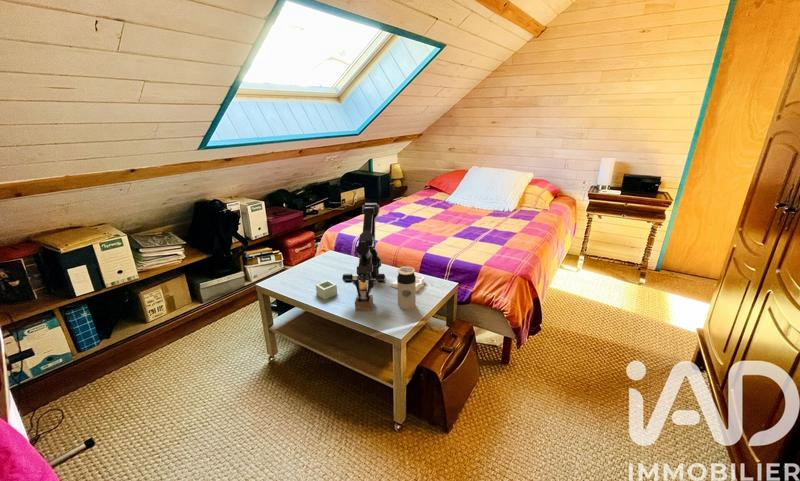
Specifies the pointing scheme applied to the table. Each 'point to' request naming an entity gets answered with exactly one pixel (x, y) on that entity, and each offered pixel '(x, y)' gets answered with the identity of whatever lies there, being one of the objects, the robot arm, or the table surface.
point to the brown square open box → (364, 304)
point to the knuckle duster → (418, 282)
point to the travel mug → (406, 288)
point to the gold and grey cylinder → (363, 291)
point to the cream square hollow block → (326, 289)
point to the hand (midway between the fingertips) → (363, 297)
